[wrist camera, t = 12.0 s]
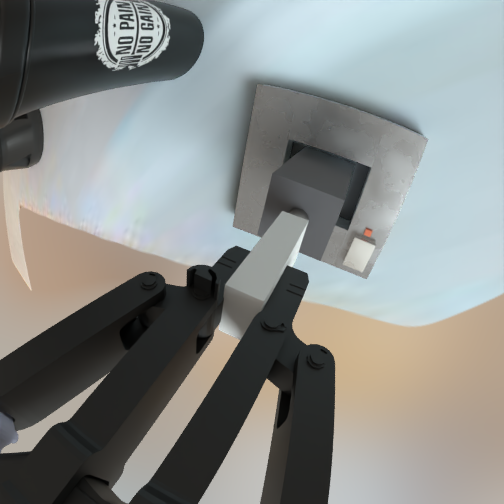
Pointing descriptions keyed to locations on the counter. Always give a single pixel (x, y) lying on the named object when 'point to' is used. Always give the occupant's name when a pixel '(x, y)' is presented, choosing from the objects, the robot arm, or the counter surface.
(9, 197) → the counter surface
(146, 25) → the water bottle
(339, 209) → the plug
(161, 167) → the counter surface
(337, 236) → the socket
